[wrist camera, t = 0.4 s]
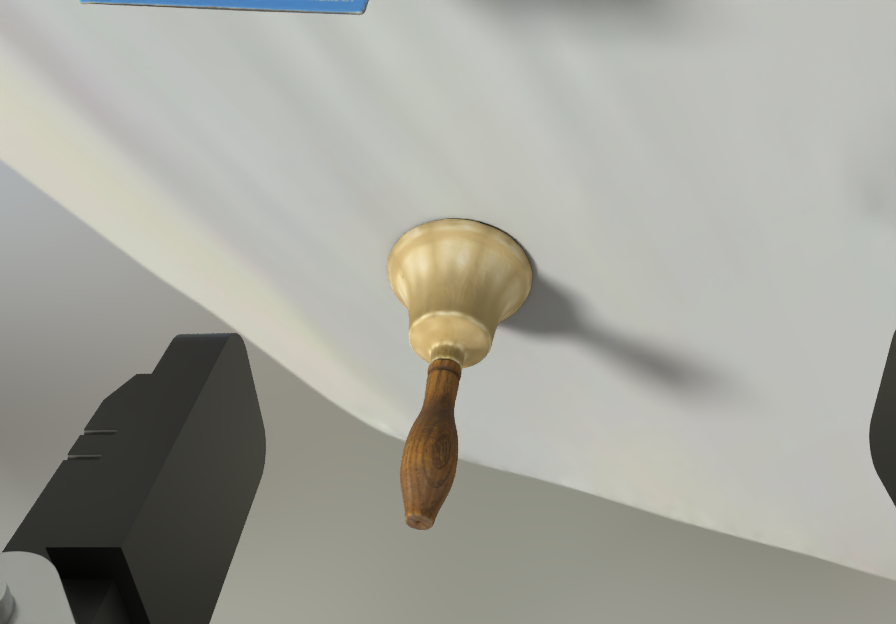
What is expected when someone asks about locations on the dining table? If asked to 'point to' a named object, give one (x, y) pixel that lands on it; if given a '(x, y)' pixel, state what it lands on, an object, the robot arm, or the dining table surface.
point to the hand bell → (449, 336)
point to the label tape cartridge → (252, 5)
